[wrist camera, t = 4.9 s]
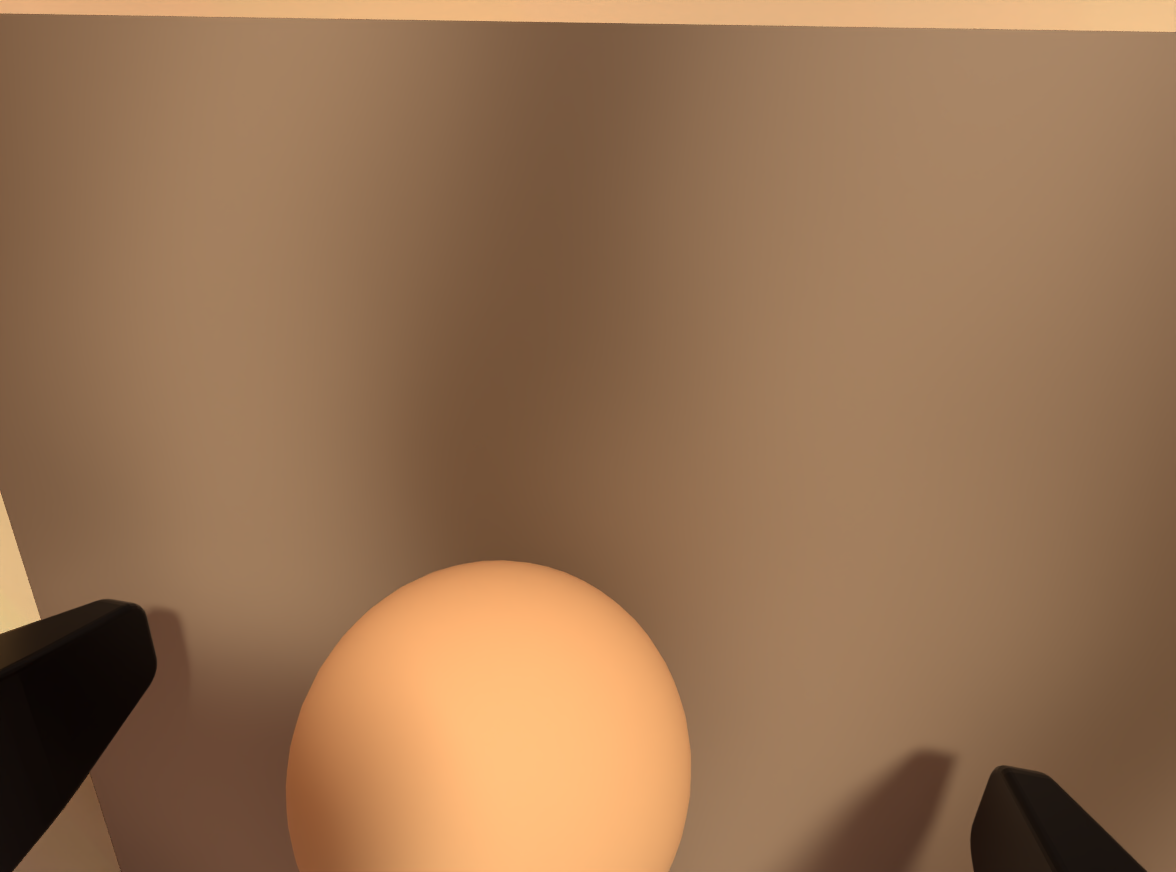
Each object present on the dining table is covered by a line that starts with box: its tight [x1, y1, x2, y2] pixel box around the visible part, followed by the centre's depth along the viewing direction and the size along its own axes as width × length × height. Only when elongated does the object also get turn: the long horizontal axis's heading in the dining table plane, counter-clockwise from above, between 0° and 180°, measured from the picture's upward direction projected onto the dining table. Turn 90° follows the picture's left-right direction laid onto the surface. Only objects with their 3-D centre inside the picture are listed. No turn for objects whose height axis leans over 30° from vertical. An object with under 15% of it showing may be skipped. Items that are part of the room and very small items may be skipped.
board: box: [0, 14, 1176, 872], centre depth 11 cm, size 14×22×2 cm, turn 178°
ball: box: [286, 560, 691, 872], centre depth 7 cm, size 4×4×4 cm
